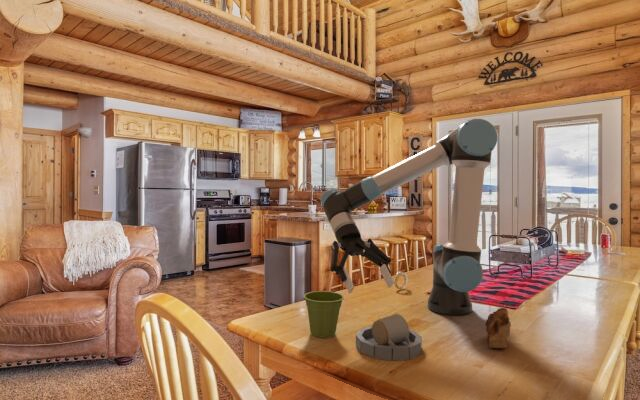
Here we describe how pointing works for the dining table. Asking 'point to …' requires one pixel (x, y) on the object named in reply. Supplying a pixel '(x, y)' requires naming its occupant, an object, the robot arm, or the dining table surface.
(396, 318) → the ceramic mug
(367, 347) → the round tray
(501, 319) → the decorative rock
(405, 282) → the ring
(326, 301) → the plant pot
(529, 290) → the dining table surface
